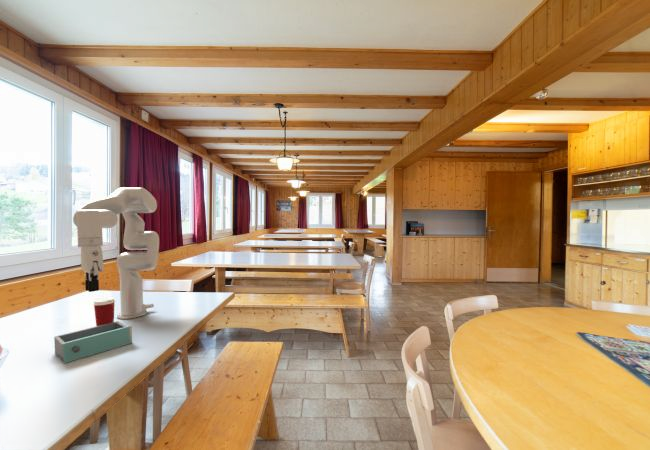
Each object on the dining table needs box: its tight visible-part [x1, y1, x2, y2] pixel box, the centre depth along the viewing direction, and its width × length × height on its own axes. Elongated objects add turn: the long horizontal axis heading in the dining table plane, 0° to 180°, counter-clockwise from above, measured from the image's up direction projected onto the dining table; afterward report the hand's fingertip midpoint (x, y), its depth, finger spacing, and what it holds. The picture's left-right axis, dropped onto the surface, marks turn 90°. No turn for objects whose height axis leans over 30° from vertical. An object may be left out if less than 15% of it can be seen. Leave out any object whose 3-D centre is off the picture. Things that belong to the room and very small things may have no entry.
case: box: [53, 321, 128, 363], centre depth 115 cm, size 20×12×6 cm, turn 141°
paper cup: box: [92, 297, 116, 327], centre depth 131 cm, size 8×8×14 cm
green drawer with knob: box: [63, 325, 133, 364], centre depth 111 cm, size 21×3×6 cm, turn 141°
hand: (92, 290), depth 117 cm, fingers open, 2 cm apart
